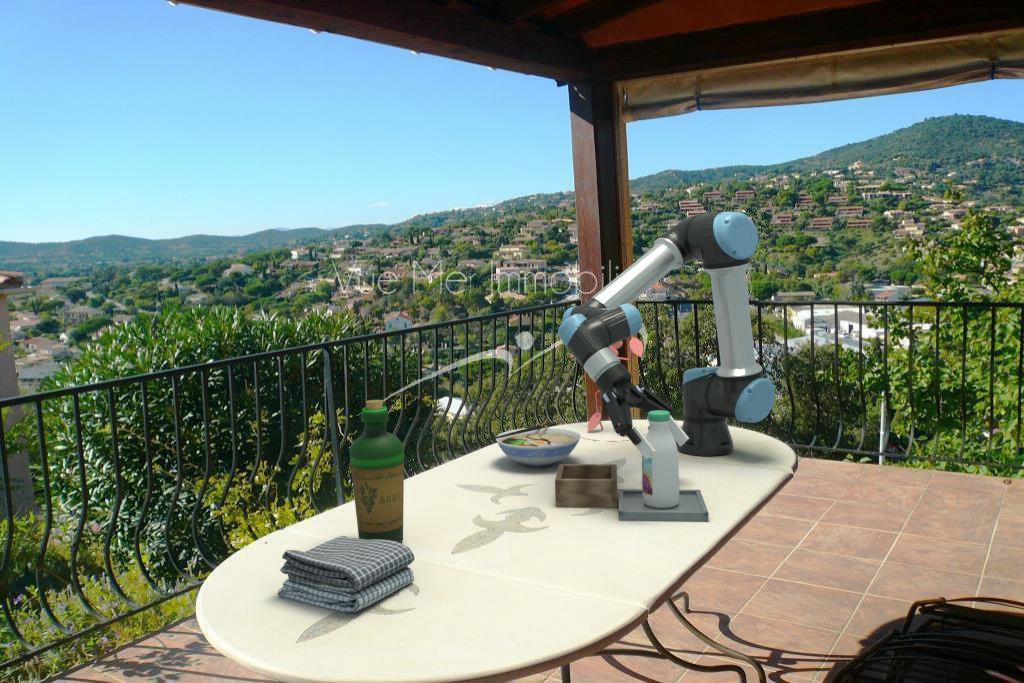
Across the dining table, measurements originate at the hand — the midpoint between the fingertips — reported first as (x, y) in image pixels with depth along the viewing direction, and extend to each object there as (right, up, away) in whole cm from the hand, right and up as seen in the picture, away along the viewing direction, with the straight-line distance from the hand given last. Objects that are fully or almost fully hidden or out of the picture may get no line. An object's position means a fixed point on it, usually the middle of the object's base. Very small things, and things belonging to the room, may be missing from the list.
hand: (668, 448), depth 165 cm
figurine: (-5, -6, +73) cm, 74 cm away
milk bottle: (-1, -12, +3) cm, 13 cm away
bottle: (-59, -17, -13) cm, 62 cm away
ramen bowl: (-26, -10, +43) cm, 51 cm away
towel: (-61, -19, -34) cm, 72 cm away
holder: (-16, -13, +12) cm, 23 cm away
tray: (-1, -13, +3) cm, 14 cm away
